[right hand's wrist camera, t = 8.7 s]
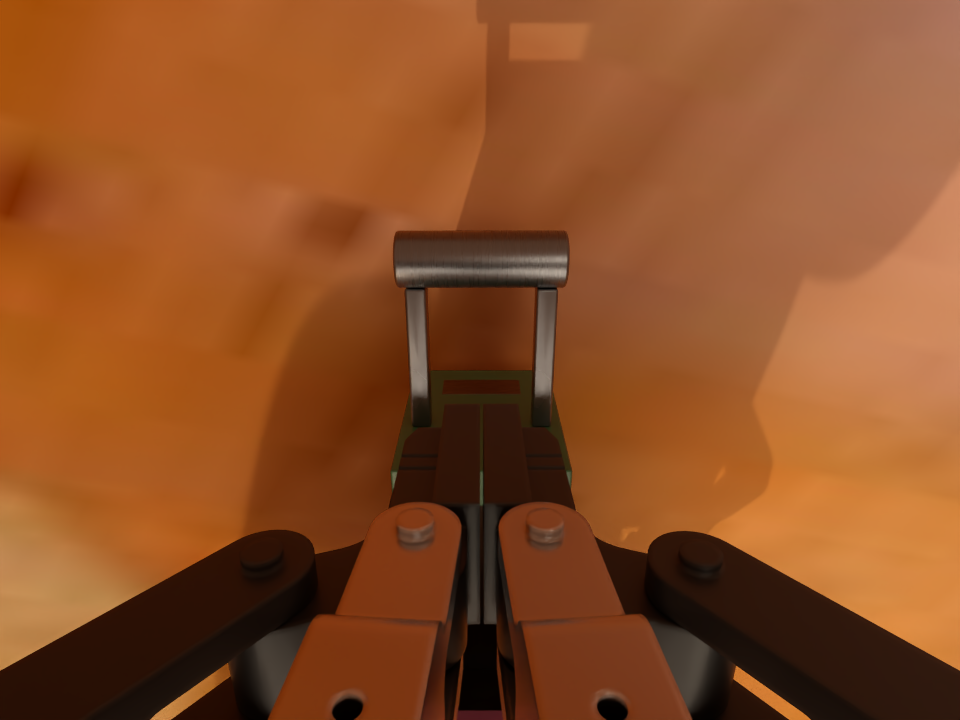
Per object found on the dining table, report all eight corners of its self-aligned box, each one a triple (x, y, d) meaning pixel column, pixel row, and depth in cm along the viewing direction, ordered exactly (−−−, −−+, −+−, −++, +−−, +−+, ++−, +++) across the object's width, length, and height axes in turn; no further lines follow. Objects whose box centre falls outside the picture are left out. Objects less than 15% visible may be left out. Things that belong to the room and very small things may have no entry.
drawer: (406, 207, 20) (374, 254, 14) (556, 206, 20) (587, 254, 14) (429, 660, 29) (415, 811, 22) (534, 660, 28) (548, 811, 22)
